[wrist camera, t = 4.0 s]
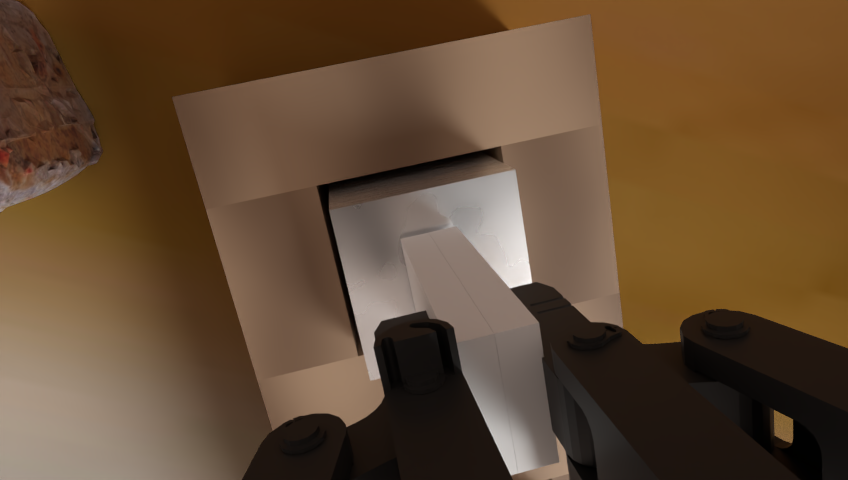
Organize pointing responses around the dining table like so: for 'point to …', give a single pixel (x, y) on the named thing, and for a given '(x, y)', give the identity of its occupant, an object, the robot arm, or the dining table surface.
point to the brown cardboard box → (385, 150)
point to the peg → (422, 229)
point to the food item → (38, 112)
